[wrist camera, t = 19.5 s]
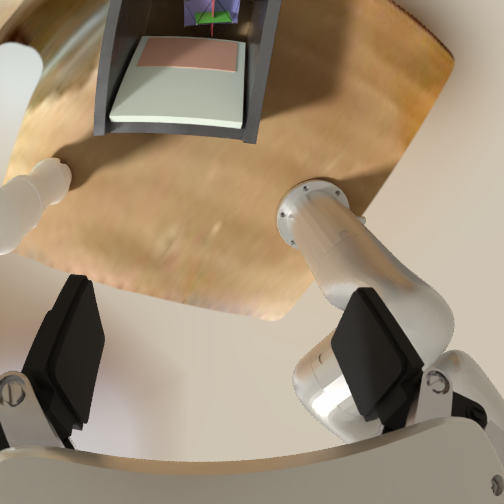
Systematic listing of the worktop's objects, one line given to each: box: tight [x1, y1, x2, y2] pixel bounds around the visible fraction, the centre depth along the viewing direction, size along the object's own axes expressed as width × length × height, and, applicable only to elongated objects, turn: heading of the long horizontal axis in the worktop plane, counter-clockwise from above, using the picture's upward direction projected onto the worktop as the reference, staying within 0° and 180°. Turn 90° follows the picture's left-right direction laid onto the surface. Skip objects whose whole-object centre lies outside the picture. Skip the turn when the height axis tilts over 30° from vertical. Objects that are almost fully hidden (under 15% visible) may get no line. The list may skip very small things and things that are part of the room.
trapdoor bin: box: [93, 0, 282, 144], centre depth 26 cm, size 16×21×14 cm
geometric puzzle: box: [184, 0, 240, 39], centre depth 26 cm, size 7×7×8 cm
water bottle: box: [0, 158, 72, 255], centre depth 26 cm, size 7×7×25 cm
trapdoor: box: [110, 36, 245, 129], centre depth 27 cm, size 13×14×1 cm
